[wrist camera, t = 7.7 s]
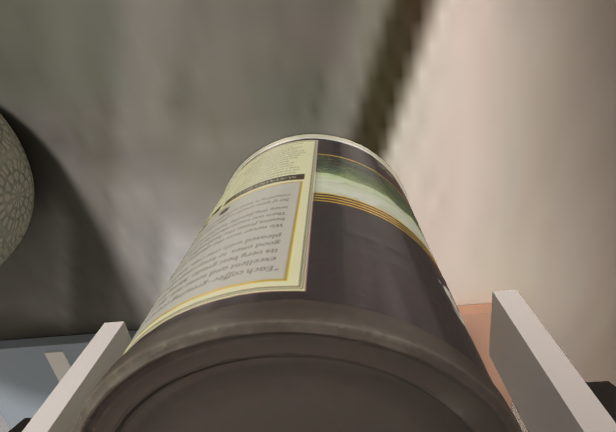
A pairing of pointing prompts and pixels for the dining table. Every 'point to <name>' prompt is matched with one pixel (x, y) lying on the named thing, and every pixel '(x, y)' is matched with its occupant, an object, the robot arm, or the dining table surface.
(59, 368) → the pad
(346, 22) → the dining table surface
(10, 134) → the planter
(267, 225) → the coffee can
